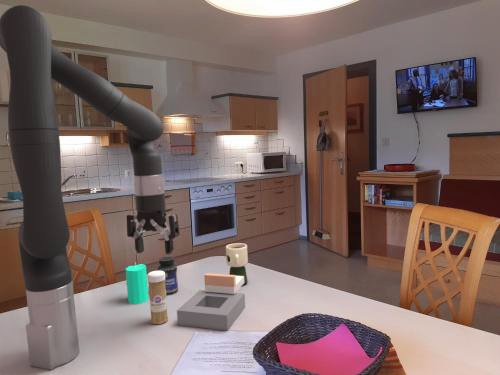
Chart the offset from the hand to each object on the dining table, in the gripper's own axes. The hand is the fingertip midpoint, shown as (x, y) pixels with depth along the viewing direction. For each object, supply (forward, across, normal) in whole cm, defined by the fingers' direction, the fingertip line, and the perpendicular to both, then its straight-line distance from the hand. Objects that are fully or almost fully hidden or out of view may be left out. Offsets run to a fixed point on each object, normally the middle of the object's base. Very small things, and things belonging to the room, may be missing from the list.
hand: (154, 253), depth 100 cm
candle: (+19, +14, -11) cm, 26 cm away
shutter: (+15, -13, -16) cm, 25 cm away
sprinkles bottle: (+19, 0, 0) cm, 19 cm away
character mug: (+19, -12, -30) cm, 37 cm away
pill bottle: (+19, +8, -19) cm, 28 cm away
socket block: (+19, -13, -6) cm, 24 cm away
